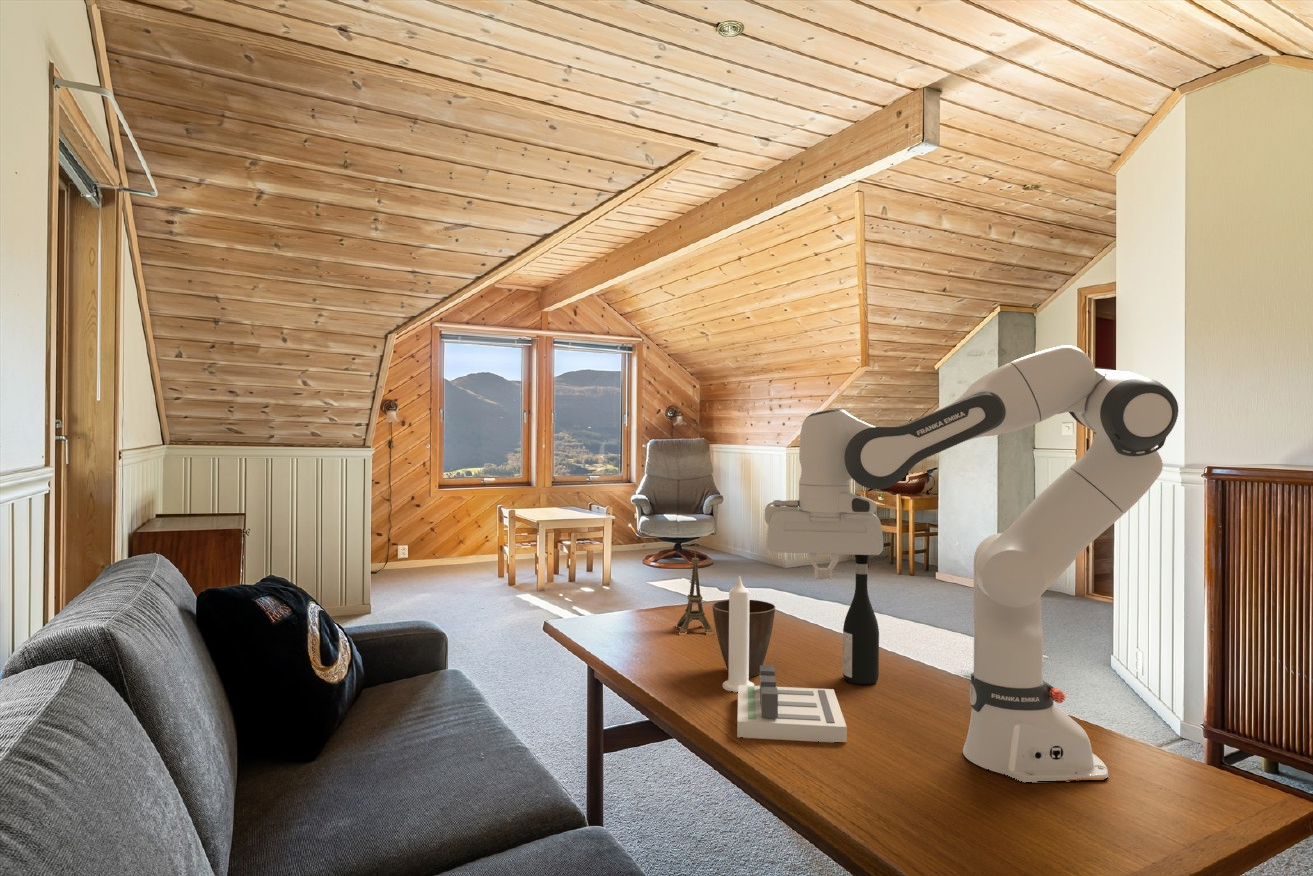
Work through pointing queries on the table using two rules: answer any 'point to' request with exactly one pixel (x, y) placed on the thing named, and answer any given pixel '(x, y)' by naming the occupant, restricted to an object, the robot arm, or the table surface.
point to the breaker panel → (792, 715)
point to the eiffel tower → (692, 598)
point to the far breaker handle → (767, 670)
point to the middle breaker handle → (767, 682)
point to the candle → (738, 638)
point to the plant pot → (758, 631)
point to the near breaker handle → (769, 702)
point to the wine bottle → (861, 633)
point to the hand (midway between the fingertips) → (823, 578)
